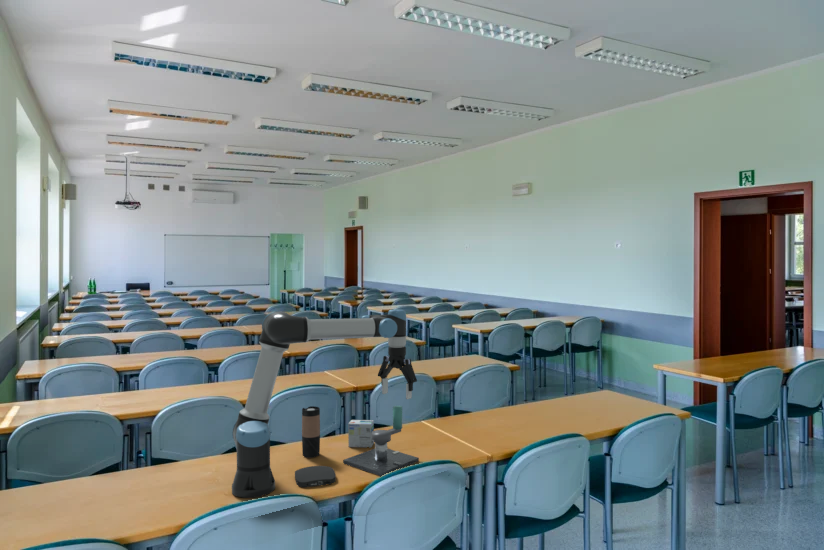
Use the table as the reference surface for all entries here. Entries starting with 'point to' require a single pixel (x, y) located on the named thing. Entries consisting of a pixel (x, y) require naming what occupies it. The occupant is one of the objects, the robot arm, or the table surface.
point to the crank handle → (385, 435)
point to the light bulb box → (360, 433)
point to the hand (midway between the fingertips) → (396, 396)
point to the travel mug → (311, 431)
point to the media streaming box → (315, 476)
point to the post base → (380, 465)
